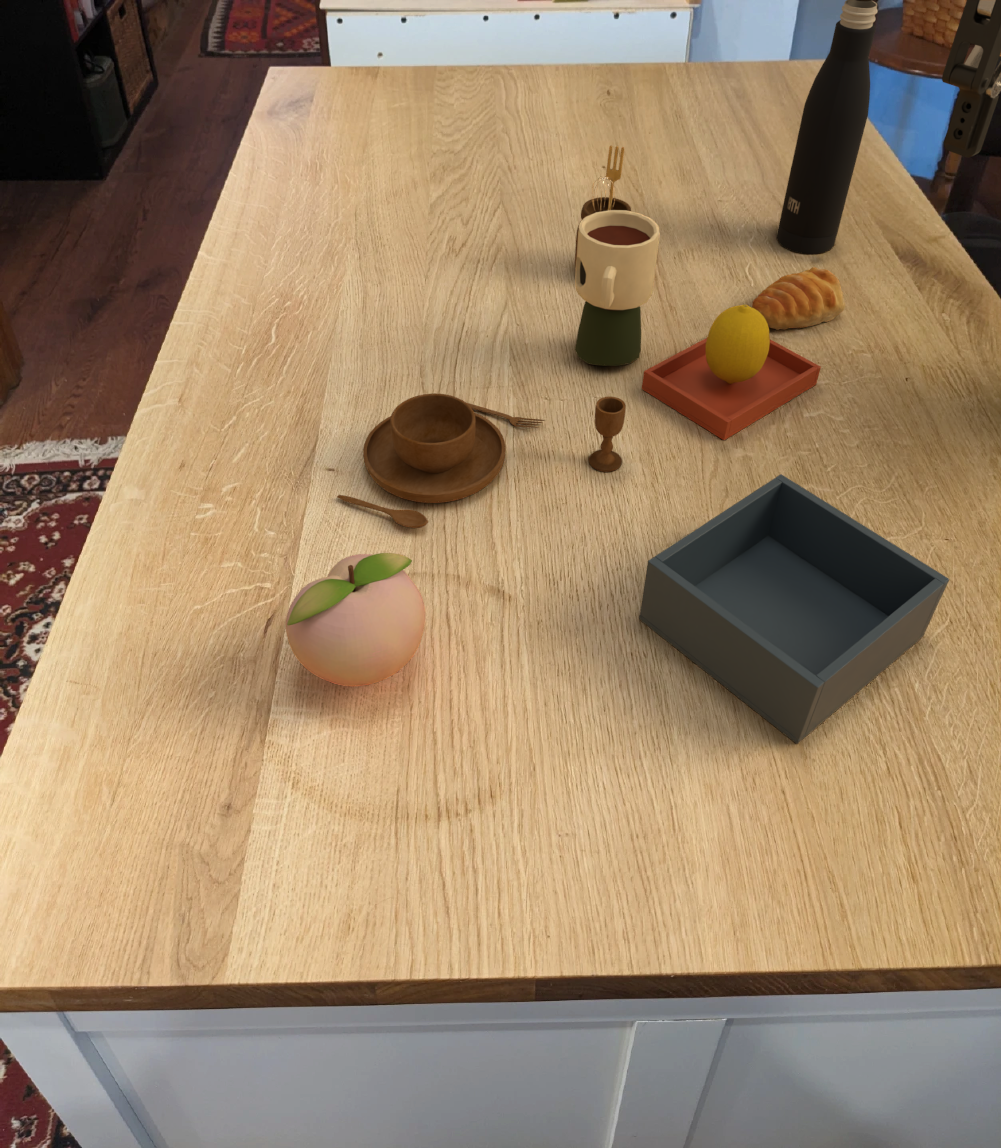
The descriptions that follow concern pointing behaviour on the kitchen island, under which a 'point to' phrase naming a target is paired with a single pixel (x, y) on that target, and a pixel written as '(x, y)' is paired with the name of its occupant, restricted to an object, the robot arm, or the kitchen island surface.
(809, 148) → the black water bottle
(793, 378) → the tray
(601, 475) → the kitchen island surface
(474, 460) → the place setting
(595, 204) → the utensil holder
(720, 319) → the lemon
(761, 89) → the kitchen island surface
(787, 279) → the pastry
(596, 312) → the character mug
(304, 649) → the decorative fruit
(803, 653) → the bin
